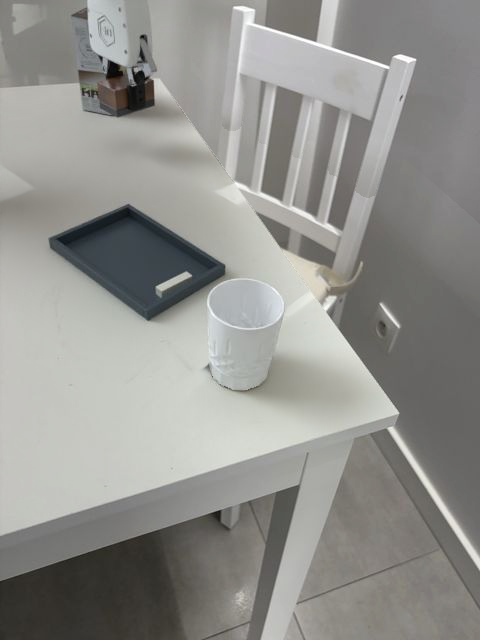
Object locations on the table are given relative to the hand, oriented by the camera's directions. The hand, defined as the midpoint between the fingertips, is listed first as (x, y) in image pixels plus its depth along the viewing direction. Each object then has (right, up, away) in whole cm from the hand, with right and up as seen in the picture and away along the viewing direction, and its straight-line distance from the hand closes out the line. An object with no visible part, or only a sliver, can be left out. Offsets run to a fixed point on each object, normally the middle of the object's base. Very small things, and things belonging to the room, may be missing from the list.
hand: (126, 102), depth 91 cm
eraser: (0, 0, +1) cm, 1 cm away
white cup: (+20, -43, -28) cm, 56 cm away
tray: (+6, -30, -17) cm, 35 cm away
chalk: (+11, -33, -21) cm, 41 cm away
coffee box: (-8, +7, +17) cm, 20 cm away
